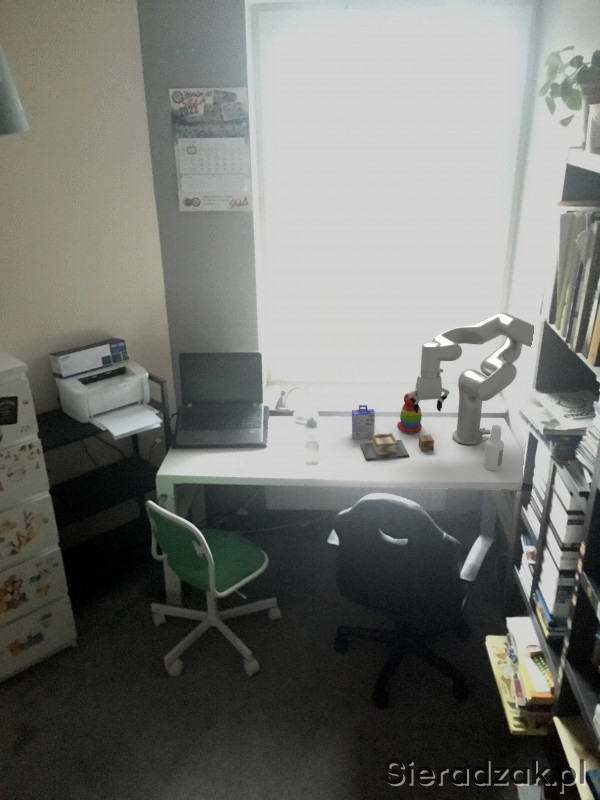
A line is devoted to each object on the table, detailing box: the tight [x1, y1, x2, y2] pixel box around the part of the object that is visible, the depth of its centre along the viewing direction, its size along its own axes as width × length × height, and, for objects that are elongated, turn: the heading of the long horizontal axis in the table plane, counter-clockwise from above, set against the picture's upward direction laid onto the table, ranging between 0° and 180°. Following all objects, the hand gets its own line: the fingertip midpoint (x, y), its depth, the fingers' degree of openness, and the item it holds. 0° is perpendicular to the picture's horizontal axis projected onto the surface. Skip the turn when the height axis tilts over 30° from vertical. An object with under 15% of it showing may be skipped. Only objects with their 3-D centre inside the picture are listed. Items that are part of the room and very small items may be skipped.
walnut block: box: [418, 434, 435, 452], centre depth 271 cm, size 5×5×5 cm
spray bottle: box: [483, 424, 505, 472], centre depth 253 cm, size 7×7×18 cm
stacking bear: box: [396, 392, 423, 434], centre depth 284 cm, size 11×10×18 cm
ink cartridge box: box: [351, 404, 376, 440], centre depth 280 cm, size 10×6×14 cm, turn 89°
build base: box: [359, 432, 410, 462], centre depth 269 cm, size 18×13×6 cm
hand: (427, 410), depth 264 cm, fingers open, 9 cm apart
